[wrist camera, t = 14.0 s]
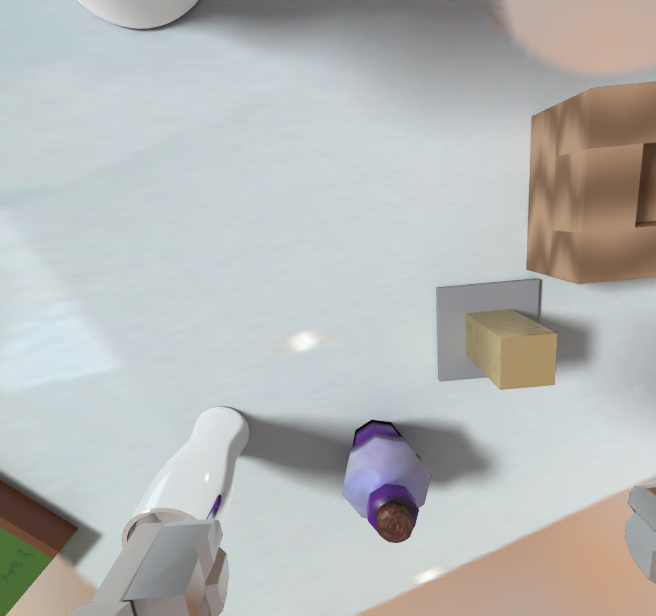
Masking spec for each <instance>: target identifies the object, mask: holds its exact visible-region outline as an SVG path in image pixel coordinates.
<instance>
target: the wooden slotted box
mask: <svg viewBox="0 0 656 616" xmlns="http://www.w3.org/2000/svg"><path fill="white" fill-rule="evenodd" d="M527 270H530V271H534V272H537V273H541V274H545V275H548V276H552V277H555V278H559V279H562V280H566V281H570V282H573V283H577V284H584V283H595V282H606V281H617V280H628V279H639V278H650V277H656V82H646V83H636V84H626V85H616V86H606V87H596V88H591V89H589V90H587V91H585V92H582V93H580V94H578V95H576V96H574V97H572V98H570V99H568V100H566V101H563V102H561V103H559V104H557V105H555V106H553V107H551V108H549V109H547V110H544V111H542V112H540V113H538V114H536V115H534V116H532V128H531V156H530V184H529V212H528V241H527Z"/></svg>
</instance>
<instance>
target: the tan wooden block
mask: <svg viewBox="0 0 656 616" xmlns="http://www.w3.org/2000/svg"><path fill="white" fill-rule="evenodd" d="M465 324H466V356H467V357H468V358H469V359H470V360H471V361H472V362H473V363H474V364H475V365H476V366H477V367H478V368H479V369H480V370H481V371H482V372H483V373H484V374H485V375H486V376H487V377H488V378H489V379H490V380H491V381H492V382H493V383H494V384H495V385H496V386H497V387H498V388H499V389H500V390H503V389H514V388H526V387H537V386H548V385H555V370H556V352H557V334H558V333H556V332H554V331H552V330H550V329H548V328H546V327H544V326H542V325H540V324H538V323H537V322H535V321H533V320H531V319H529V318H527V317H525V316H523V315H521V314H519V313H517V312H515V311H513V310H511V309H504V310H493V311H482V312H471V313H465Z"/></svg>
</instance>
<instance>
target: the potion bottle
mask: <svg viewBox="0 0 656 616" xmlns="http://www.w3.org/2000/svg"><path fill="white" fill-rule="evenodd" d="M430 479H431V474H430V472H429V471H428V470H427V468H426V467H425V466H424V464H423V462H422V460H421V458H420V456H419V455H418V454H417V453H414V452H413V450H412V449H411V448H410V446H409V445H408V444H407V443H406V441H405V440H404V439H403V437H402V436H401V435H400V433H399V432H398V431H397V430H396V428H395V427H394V426H393V424H392V423H391V422H384V421H376V420H371V421H369V422H368V423H366V424H365V425H363V426H361V427H360V428H358V429H357V430H356V431H355V437H354V442H353V448H351V452H350V456H349V460H348V464H347V470H346V475H345V481H344V486H343V491H342V495H343V496H344V497H345V498H346V499H347V500H348V502H349V503H350V504H351V505H352V506H353V507H354V509H355V510H356V511H357V512H358V513H359V514H360V516H361V517H363V518H368V521H369V523H370V524H371V525H372V526H373V527H374V528H375V530H376V531H377V532H378V534H379V535H380V536H381V537H382V538H383V539H385V540H387V541H388V542H393V543H399V542H402V541H405V540H406V539H408V538H409V537H410V535H411V532H412V530H413V528H414V527H415V524H416V520H417V516H418V512H419V509H418V508H419V507H421V506H422V505H424V503H425V499H426V495H427V491H428V487H429V483H430Z"/></svg>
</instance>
